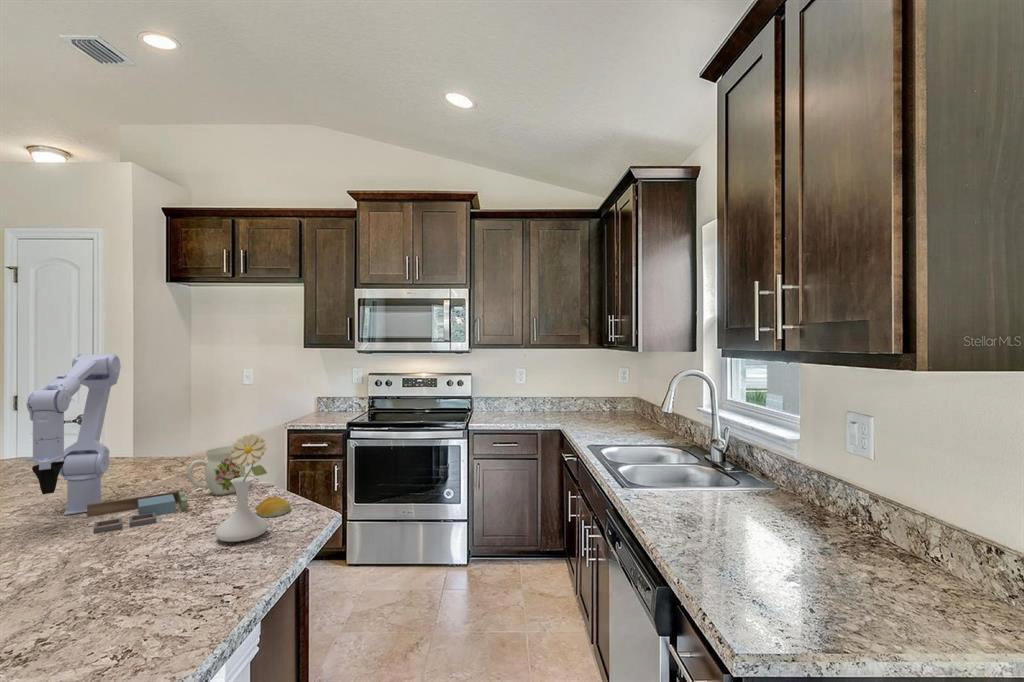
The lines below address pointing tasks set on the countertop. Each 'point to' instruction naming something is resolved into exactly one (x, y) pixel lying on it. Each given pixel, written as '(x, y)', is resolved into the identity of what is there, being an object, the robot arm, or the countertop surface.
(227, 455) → the pitcher
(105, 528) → the grey double frame
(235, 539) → the flower in vase
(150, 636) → the countertop surface
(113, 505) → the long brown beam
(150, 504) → the slate block
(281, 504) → the bread roll
